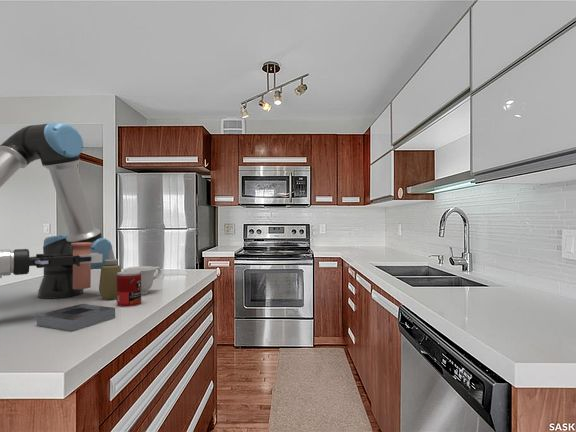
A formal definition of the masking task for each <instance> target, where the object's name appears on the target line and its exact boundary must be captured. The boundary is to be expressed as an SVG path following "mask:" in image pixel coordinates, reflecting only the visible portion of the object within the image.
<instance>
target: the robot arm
mask: <svg viewBox="0 0 576 432" xmlns="http://www.w3.org/2000/svg"><path fill="white" fill-rule="evenodd" d="M83 148H84V139H83V138H82V136H81V134H80V132H79V131H78V130H77V128H75V127H74V126H72V125H70V124H68V123H66V122H50V123H42V124H33V125H31V124H30V125H27V126H24V127H22V128H20V129H19V130H17V131H16V132H14V133H13V134H12V135H10V136H9V137H8V138H6V140H4V141H3V143H1V144H0V188H2V187H3V185H5V184H6V183H7V182H8V181H9V180H10V178H11V177H13V176H14V175H15V173H16V172H18V171H19V169H25V168H26V167H27V166H28V165H30V164H31V163H32V162H34V161H37V160H38V161H39V160H40V162H41V165H42V167H44V168H46V170H48V171H49V174H50V177H51V179H52V180H51V181H52V183H53V186H54V189H55V193H56V196H57V199H58V202H59V205H60V208H61V212H62V214H63V218H64V221H65V224H66V227H67V231H68V234H62V235H61V234H60V235H52V236H48V237H45V238H44V240H43V247H42V250H43V251H42V252H43V253H36V256H30V250H29V249H28V248H18V249H17V248H16V249H13V250H11V249H0V279H2V278H3V276H4V277H5V276H6V277H7V276H11V275H12V274H13V275H14V276H23V275H27V274H29V272H30V267H36V268H37V269H41V268H43V277H42V279H41V282H40V285H39V288H38V290H37V294H38V295H37V297H38V298H39V299H60V298H69V297H75V296H79V295H81V294H84V290H85V289H73V265H77V266H80V264H84V263H91V270H99V269H100V270H101V267H102V266H104V260H107V257H108V253H109V250H113V245H112V243H111V241H110V240H109V239H106V238H105V237H103V235H102V232H101V230H100V229H98V227H95V223H94V220H93V217H92V213H91V209H90V206H89V203H88V199H87V195H86V192H85V189H84V186H83V182H82V179H81V175H80V172H79V168H78V165H79V164H78V163H80V161H81V158H80V154H81V153H82V152H83ZM80 242H92V243H93V246H91V254H89V255H79V256H78V255H77V256H73V247H72V246H71V243H80Z"/></svg>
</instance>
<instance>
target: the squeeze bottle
mask: <svg viewBox="0 0 576 432" xmlns="http://www.w3.org/2000/svg"><path fill="white" fill-rule="evenodd" d="M118 272H122V267H121V265H120V264H119V259H117V258H115V255H114V249H112V250H109V253H108V257H107V260H104V266H102V267H101V268H100V276H99V285H98V291H99V294H100V298H101V299H102V300H107V301H111V300H117V273H118Z"/></svg>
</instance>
